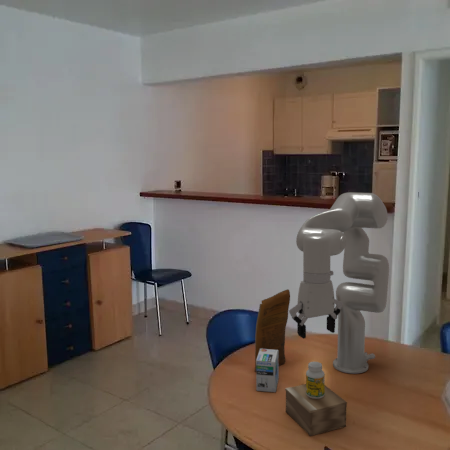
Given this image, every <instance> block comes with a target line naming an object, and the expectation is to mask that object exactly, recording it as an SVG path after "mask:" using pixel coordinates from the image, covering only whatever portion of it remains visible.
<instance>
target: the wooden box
mask: <svg viewBox="0 0 450 450" xmlns="http://www.w3.org/2000/svg"><path fill="white" fill-rule="evenodd" d="M347 404H348V403H347ZM347 404H344V405H340V406H336V407H332V408H328V409H324V410H320V411H316V412H312V413H309V412H308V411H307V410H306V409H305V408H304V407H303V406H302V405H301V404H300V403H298V402H297V401H296V400H295V399H294V398H293V397H292V396H291V395H290V394H289V393H287V392H286V391H285V413H286V414H287V415H288V416H289V417H291V419H292V420H293V421H294V422H295V423H296V424H297V425H299V427H301V428H302V429H303V430H304V432H305V433H307V435H309V437H312V436H315V435H319V434H323V433H326V432H330V431H335V430H338V429H341V428H345V427H347Z"/></svg>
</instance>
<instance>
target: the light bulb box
mask: <svg viewBox="0 0 450 450" xmlns="http://www.w3.org/2000/svg"><path fill="white" fill-rule="evenodd" d="M279 368H280V365H279V350H272V349H260V350H259V353H258V356H257V359H256V372H255V375H256V376H255V377H256V378H255V380H256V381H255V383H256V384H255V387H256V388H255V389H256V392H257V391H258V392H269V393H276V392H277V389H278V388H277V387H278V384H279V379H280V378H279V377H280V376H279V373H280V372H279Z"/></svg>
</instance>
